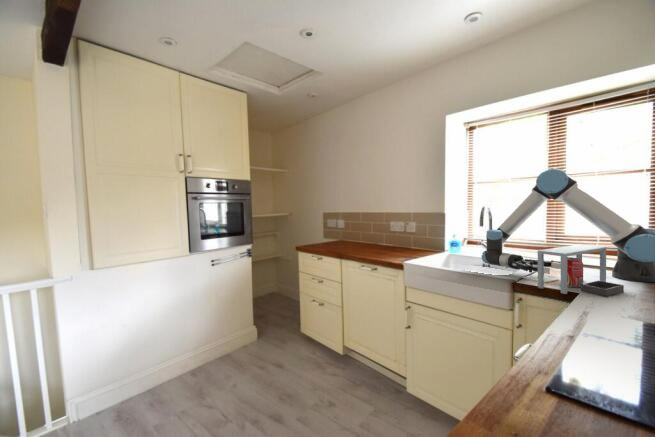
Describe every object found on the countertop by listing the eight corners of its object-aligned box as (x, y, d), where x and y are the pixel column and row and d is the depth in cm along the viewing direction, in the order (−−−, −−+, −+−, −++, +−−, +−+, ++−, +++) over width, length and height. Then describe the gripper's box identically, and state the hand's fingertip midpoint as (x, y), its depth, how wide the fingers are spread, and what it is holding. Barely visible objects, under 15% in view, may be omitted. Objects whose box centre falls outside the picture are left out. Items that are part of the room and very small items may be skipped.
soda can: (562, 282, 124) (562, 256, 123) (584, 285, 118) (584, 258, 118) (560, 286, 119) (560, 258, 118) (582, 289, 114) (582, 260, 113)
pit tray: (597, 287, 115) (597, 280, 115) (623, 292, 108) (623, 285, 108) (581, 291, 111) (581, 284, 111) (607, 297, 103) (607, 289, 103)
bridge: (578, 278, 129) (578, 244, 128) (606, 284, 119) (606, 247, 119) (537, 287, 118) (537, 250, 117) (565, 294, 109) (564, 253, 108)
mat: (535, 275, 137) (535, 274, 137) (558, 280, 128) (558, 279, 128) (521, 277, 133) (521, 277, 133) (544, 282, 124) (544, 282, 124)
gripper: (527, 265, 147) (575, 274, 127) (495, 271, 138) (540, 280, 118) (527, 251, 147) (575, 258, 127) (494, 256, 138) (540, 263, 118)
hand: (558, 269), depth 123 cm, fingers open, 13 cm apart
